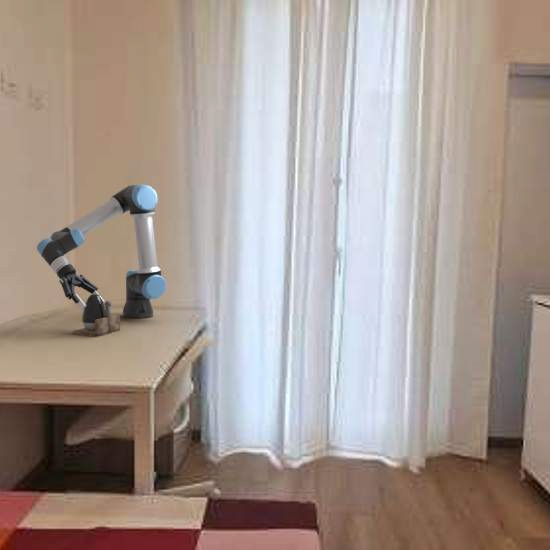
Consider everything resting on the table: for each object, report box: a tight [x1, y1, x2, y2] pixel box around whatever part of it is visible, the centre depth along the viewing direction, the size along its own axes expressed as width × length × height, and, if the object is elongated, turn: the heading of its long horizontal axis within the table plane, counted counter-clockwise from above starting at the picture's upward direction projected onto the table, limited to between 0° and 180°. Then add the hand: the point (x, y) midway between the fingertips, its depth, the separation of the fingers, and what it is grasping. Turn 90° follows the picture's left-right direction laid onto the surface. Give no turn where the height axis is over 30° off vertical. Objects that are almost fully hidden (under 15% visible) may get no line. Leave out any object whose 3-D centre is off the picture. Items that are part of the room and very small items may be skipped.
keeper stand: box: [71, 300, 121, 337], centre depth 277 cm, size 16×14×14 cm
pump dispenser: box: [81, 294, 106, 330], centre depth 277 cm, size 10×10×15 cm
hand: (93, 305), depth 277 cm, fingers open, 13 cm apart
